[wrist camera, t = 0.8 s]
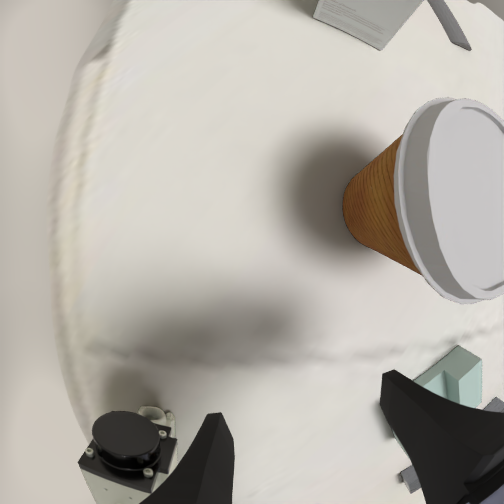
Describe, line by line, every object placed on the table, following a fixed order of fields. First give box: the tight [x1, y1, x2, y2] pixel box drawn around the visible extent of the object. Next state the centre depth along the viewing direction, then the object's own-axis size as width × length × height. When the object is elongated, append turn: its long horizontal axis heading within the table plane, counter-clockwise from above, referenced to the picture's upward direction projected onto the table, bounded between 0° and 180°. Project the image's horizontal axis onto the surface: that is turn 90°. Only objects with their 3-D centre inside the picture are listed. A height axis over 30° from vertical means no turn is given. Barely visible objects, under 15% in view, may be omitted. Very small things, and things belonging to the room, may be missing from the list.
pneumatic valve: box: [78, 406, 177, 504], centre depth 15 cm, size 6×12×12 cm, turn 171°
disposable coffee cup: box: [343, 97, 504, 304], centre depth 14 cm, size 10×10×12 cm
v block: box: [392, 345, 482, 458], centre depth 19 cm, size 7×10×4 cm
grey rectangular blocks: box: [401, 397, 504, 494], centre depth 21 cm, size 4×18×3 cm, turn 118°
